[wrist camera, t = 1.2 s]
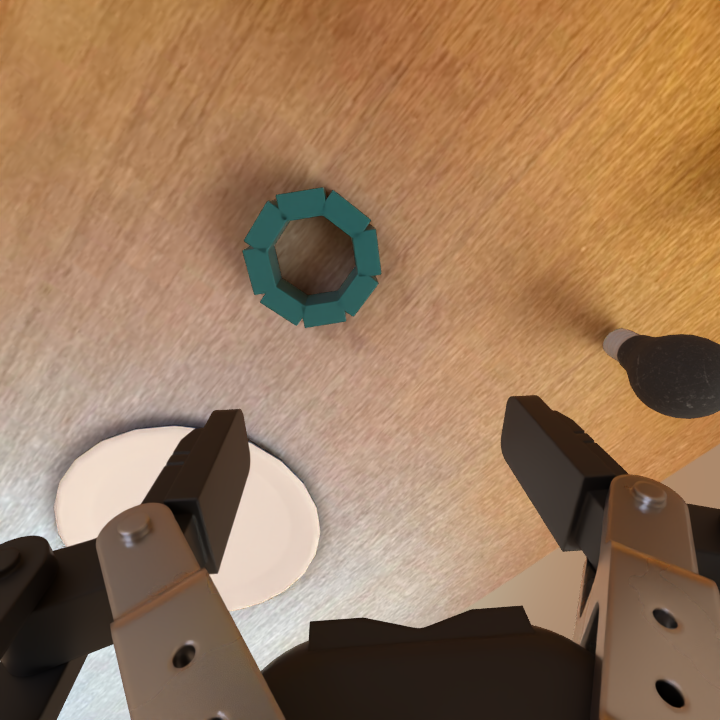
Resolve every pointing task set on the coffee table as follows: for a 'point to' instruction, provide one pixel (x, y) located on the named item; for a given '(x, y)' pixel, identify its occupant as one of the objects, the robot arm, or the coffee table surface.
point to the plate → (250, 528)
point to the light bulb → (670, 371)
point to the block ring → (283, 293)
